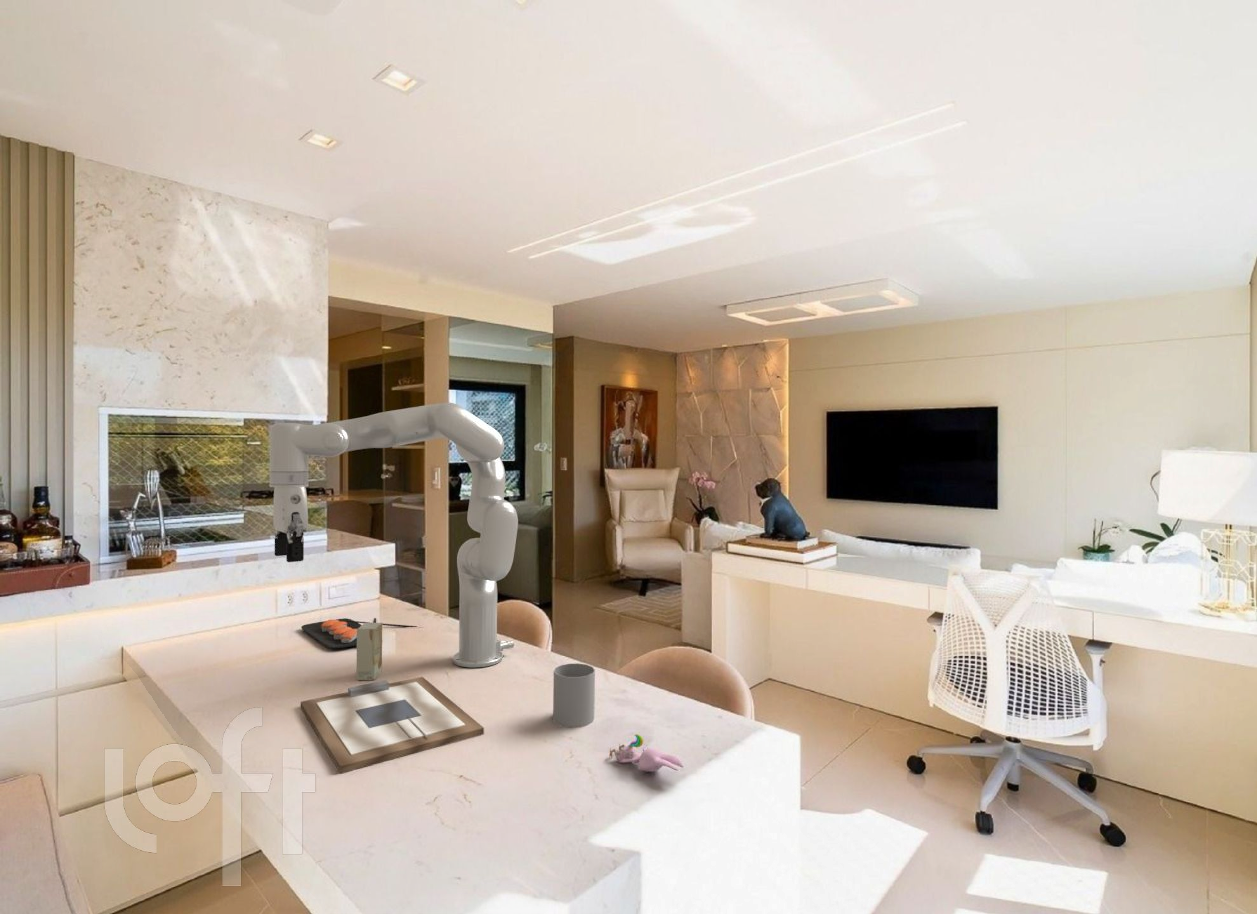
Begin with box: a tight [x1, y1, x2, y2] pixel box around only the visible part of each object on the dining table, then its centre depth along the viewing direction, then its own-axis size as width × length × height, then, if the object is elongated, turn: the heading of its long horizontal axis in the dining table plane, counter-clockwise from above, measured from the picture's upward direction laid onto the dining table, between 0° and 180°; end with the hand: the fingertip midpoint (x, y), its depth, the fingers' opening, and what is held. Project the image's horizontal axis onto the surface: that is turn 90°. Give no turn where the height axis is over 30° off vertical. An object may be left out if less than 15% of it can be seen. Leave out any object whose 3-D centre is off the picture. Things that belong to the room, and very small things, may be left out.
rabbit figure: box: [608, 733, 684, 773], centre depth 112 cm, size 6×6×15 cm
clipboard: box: [300, 676, 485, 774], centre depth 131 cm, size 26×34×3 cm
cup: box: [552, 663, 596, 728], centre depth 133 cm, size 8×8×10 cm
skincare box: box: [355, 622, 383, 681], centre depth 155 cm, size 6×4×12 cm
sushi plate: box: [301, 617, 417, 650], centre depth 193 cm, size 29×30×4 cm
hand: (288, 558), depth 141 cm, fingers open, 9 cm apart
